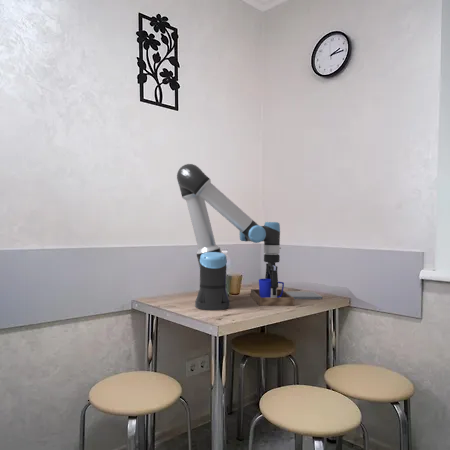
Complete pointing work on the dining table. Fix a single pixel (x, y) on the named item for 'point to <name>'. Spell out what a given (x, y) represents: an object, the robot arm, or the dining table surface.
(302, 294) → the board
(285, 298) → the crate
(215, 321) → the dining table surface
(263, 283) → the mug
